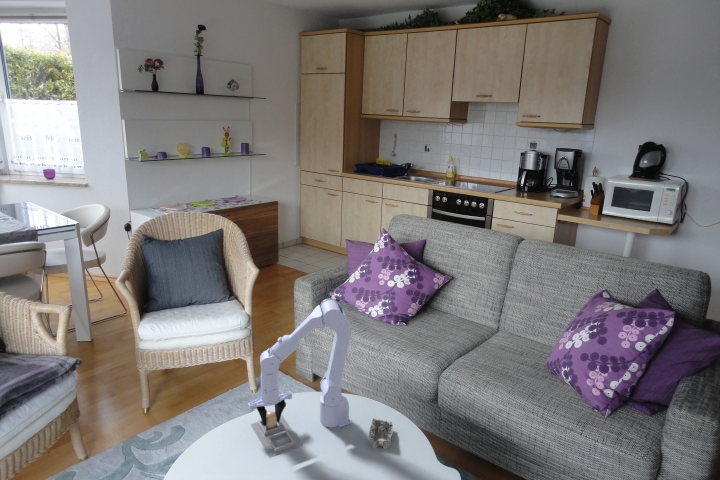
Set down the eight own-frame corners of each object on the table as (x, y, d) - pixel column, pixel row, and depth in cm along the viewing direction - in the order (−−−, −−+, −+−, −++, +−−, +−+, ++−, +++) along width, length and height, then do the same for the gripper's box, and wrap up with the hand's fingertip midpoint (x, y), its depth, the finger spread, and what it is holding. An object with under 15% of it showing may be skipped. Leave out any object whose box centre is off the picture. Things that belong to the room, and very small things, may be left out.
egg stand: (281, 416, 165) (281, 411, 165) (302, 448, 151) (302, 442, 150) (250, 426, 160) (250, 421, 159) (269, 460, 145) (269, 454, 145)
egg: (274, 421, 161) (274, 407, 160) (278, 428, 158) (278, 413, 157) (263, 425, 159) (262, 410, 158) (267, 432, 156) (266, 417, 155)
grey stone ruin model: (390, 451, 151) (391, 440, 150) (367, 447, 152) (367, 436, 151) (394, 429, 161) (394, 419, 160) (372, 426, 162) (372, 416, 161)
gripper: (286, 374, 161) (286, 409, 165) (244, 386, 154) (245, 422, 158) (294, 385, 156) (294, 420, 159) (251, 397, 148) (252, 434, 152)
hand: (270, 422), depth 158 cm, fingers closed on egg, 4 cm apart
